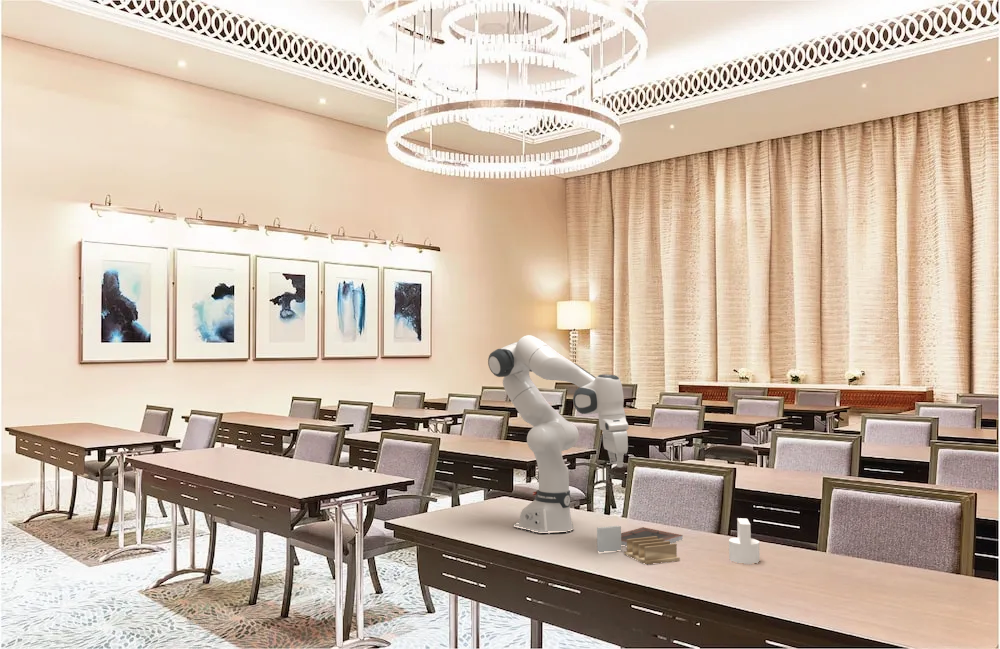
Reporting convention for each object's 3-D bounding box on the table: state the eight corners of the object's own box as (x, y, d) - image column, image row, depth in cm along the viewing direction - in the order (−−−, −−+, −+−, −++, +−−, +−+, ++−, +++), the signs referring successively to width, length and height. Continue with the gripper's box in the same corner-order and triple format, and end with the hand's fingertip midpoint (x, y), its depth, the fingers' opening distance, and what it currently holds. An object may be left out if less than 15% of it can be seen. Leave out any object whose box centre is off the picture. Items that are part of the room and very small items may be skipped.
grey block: (597, 552, 244) (597, 527, 244) (618, 550, 247) (618, 525, 247) (599, 553, 243) (599, 528, 243) (621, 551, 246) (621, 526, 246)
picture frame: (645, 553, 246) (682, 541, 261) (645, 545, 246) (682, 534, 261) (605, 544, 258) (643, 533, 273) (605, 536, 258) (643, 526, 273)
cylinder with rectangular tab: (761, 565, 229) (760, 525, 230) (730, 563, 231) (730, 523, 231) (757, 557, 238) (757, 518, 238) (727, 555, 240) (727, 517, 240)
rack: (624, 554, 241) (623, 538, 242) (656, 550, 246) (656, 535, 246) (646, 564, 229) (646, 548, 230) (679, 560, 234) (679, 544, 234)
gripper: (596, 422, 260) (600, 462, 260) (610, 426, 240) (614, 470, 239) (614, 420, 261) (618, 461, 260) (629, 424, 241) (633, 468, 240)
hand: (616, 465), depth 249 cm, fingers open, 8 cm apart
